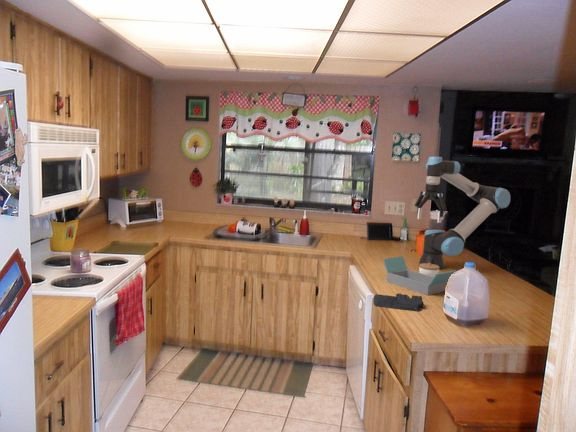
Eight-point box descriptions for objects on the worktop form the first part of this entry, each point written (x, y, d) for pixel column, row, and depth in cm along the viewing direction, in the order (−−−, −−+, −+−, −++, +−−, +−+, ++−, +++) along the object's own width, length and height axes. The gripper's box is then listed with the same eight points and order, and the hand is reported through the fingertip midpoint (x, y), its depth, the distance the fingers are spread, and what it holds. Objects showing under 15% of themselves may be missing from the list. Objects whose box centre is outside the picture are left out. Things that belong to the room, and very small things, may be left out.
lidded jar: (414, 277, 262) (415, 260, 260) (429, 276, 265) (431, 260, 264) (426, 282, 252) (427, 265, 250) (442, 281, 255) (444, 264, 254)
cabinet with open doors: (381, 279, 252) (382, 258, 250) (400, 276, 261) (402, 256, 260) (434, 297, 225) (436, 273, 223) (453, 292, 234) (456, 270, 233)
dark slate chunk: (373, 297, 221) (374, 287, 221) (421, 302, 217) (422, 293, 216) (372, 307, 206) (373, 297, 206) (424, 313, 202) (425, 303, 202)
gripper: (410, 182, 273) (407, 217, 276) (447, 185, 253) (444, 224, 256) (418, 182, 277) (415, 217, 280) (456, 185, 258) (452, 223, 261)
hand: (429, 220), depth 268 cm, fingers open, 13 cm apart
